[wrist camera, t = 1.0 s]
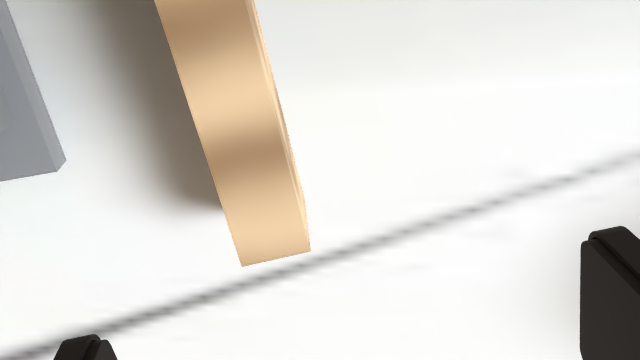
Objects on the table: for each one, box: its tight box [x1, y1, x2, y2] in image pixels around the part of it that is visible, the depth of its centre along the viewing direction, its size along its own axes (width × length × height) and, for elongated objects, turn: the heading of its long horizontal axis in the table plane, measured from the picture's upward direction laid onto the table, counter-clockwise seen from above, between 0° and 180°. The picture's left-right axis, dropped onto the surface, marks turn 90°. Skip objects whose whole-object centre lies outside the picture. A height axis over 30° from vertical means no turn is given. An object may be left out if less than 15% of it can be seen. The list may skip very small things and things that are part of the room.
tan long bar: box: [154, 0, 311, 267], centre depth 26 cm, size 24×4×6 cm, turn 12°
